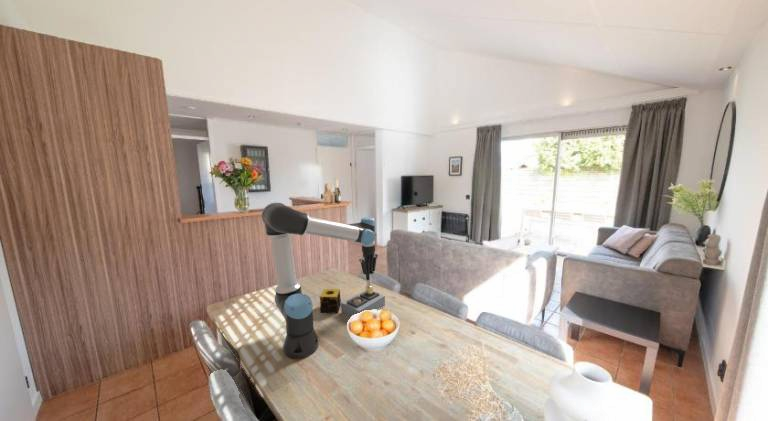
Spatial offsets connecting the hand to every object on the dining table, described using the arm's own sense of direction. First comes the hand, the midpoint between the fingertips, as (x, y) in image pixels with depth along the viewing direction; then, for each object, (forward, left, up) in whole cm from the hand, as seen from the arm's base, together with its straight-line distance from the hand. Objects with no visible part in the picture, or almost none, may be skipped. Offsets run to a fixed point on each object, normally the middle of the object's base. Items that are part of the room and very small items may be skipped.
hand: (369, 284), depth 158 cm
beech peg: (-10, 0, -13) cm, 17 cm away
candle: (-17, +15, -14) cm, 26 cm away
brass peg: (0, 0, -8) cm, 8 cm away
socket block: (-5, 0, -13) cm, 14 cm away
